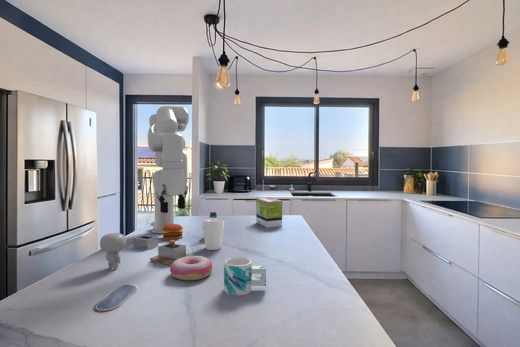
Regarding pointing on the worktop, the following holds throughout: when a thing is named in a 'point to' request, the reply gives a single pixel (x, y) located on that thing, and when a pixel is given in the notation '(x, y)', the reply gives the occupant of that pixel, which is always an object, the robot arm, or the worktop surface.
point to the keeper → (166, 261)
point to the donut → (191, 268)
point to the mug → (242, 276)
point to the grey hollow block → (145, 242)
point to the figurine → (113, 248)
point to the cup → (213, 233)
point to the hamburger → (172, 232)
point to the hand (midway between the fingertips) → (173, 210)
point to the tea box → (269, 212)
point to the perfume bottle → (213, 215)
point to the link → (172, 251)
